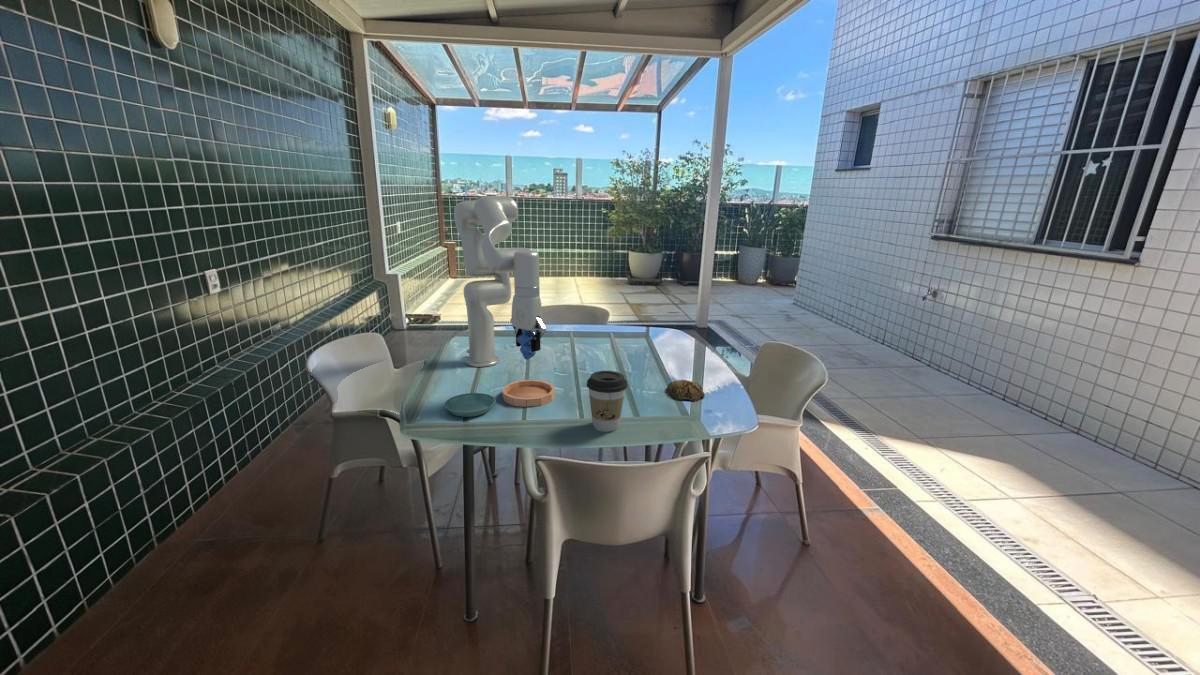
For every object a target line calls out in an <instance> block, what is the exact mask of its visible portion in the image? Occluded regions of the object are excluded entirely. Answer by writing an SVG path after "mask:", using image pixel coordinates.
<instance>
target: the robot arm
mask: <svg viewBox="0 0 1200 675" xmlns="http://www.w3.org/2000/svg"><path fill="white" fill-rule="evenodd" d="M453 210H454V211H453V218H454V219H453V220H454V224H455V227H456V230H457V232H458V235H459V237H460V240H461V247H462V256H463V263H464V269H465V273H466V274H467V276H469V277H474V278H483V277H494V279H482V280H481V279H480V280H473V281H469V282H467V283H466V284H465V286H464V287H463V297H464V302H465V306H466V313H467V315H466V316H467V329H468V330H467V332H468V345H469V346H468V347H469V349H466V353H467V354H468V357H467V358H466V359H465V364H466V365H467V366H470V367H476V368H479V367H480V368H482V367H490V366H491V367H492V366H494V365H497V364H498V363H499V362H500V357H499V356H497V355H496V351H495V350H496V348H495V346H496V345H495V344H496V343H495V323H494V321H495V320H494V315H493V314H492V312H491V311H490V310H489V309H488V308H487V307H490V306H494V305H495V306H496V305H504V304H508V303H509V302H510V300H511V298H512V300H511V302H512V303H511V318H510V323H511V325H512V327H513V330H514V331H513V332H514V334H515V346H516V347H517V348H519V347H521V346H522V345H521V344H519V343H518V341H517V338H518V336H519V335H521V334H523V332H522V330H521V329H524V330H526V331H530V332H531V335H532V338H533V339H531V351H532V352H538V351H541V339H542V337H543V336H544V334H545V332H546V331H547V327H546V325H545V324H544V321H543V306H542V301H541V295H540V294H541V293H540V254H539V252H537V251H536V250H530V249H529V248H527V247H496V245H498V244H500V243H503V242H504V241H505V240H507V239H508V238H509V237H510V235H512V232H513V231H512V230H513V228H512V223H513V222H515V220H517V218H518V214H519V208H518V204H517V202H516V201H515V200H514V199H513V198H512V197H510V196H499V195H498V196H497V195H496V196H495V195H489V196H488V195H486V196H481V197H479V198H477V199H476V200H463V201H460V202H458V203H457V204H456V205H455V207H454V209H453ZM478 226H482V228H483V230H484V232H485V233H484V234H483V232H482V231H481V229H479V228H478ZM510 273H513V280H514V281H513V283H514V295H513V297H512V287H511V278H510ZM534 331H536V332H537V333H536V334H535V332H534Z"/></svg>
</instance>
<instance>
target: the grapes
mask: <svg viewBox="0 0 1200 675" xmlns="http://www.w3.org/2000/svg"><path fill="white" fill-rule="evenodd" d="M521 330H522V332H523V334H521V335H519V336H518V338H517V341H518V343H519V344H521V345H522V346H520V348H519V350H520V353H521V355H522V357H523V359H524V360H526V361H527V360H530V359H532V358H533V357H535V355H536V354H537V351H535V352H532V351H531V339H533V338H532V335H531V332H530V331H526V330H524V329H521ZM534 332H535V334H536V333H537V332H536V331H534Z"/></svg>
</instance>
